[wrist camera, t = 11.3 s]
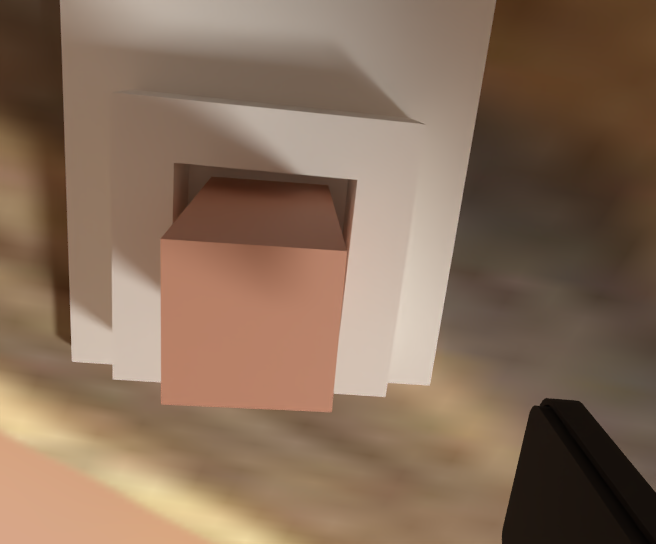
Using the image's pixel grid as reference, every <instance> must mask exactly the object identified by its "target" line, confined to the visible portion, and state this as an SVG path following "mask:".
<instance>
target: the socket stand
mask: <svg viewBox="0 0 656 544" xmlns="http://www.w3.org/2000/svg"><path fill="white" fill-rule="evenodd" d="M495 5H496V0H60V16H61V46H62V76H63V107H64V137H65V167H66V197H67V227H68V257H69V287H70V318H71V348H72V362H85V363H100V364H113V379H117V380H133V381H148V382H161V259H160V239H161V238H162V236H163V235H164V234H165V233H166V232H167V230H168V229H169V228H170V227H171V225H172V224H173V223H174V222H175V221H176V219H177V218H178V217H179V216H180V214H181V213H182V212H183V211H184V210H185V208H186V207H187V206H188V205H189V204H190V202H191V201H192V200H193V199H194V197H195V196H196V195H197V194H198V193H199V191H200V190H201V189H202V188H203V186H204V185H205V184H206V183H207V182H208V180H209V179H210V178H211V177H225V178H238V179H252V180H266V181H279V182H293V183H307V184H320V185H328V187H329V190H330V194H331V197H332V200H333V204H334V207H335V211H336V214H337V218H338V221H339V225H340V228H341V232H342V235H343V238H344V242H345V245H346V249H347V258H346V269H345V279H344V289H343V300H342V310H341V321H340V331H339V342H338V352H337V362H336V373H335V383H334V394H349V395H364V396H380V397H386V390H387V383H400V384H415V385H430V381H431V375H432V370H433V364H434V358H435V352H436V346H437V341H438V335H439V329H440V323H441V318H442V312H443V306H444V300H445V294H446V289H447V283H448V277H449V271H450V265H451V260H452V254H453V248H454V242H455V236H456V231H457V225H458V219H459V213H460V207H461V202H462V196H463V190H464V184H465V179H466V173H467V167H468V161H469V155H470V150H471V144H472V138H473V132H474V126H475V121H476V115H477V109H478V103H479V97H480V92H481V86H482V80H483V74H484V69H485V63H486V57H487V51H488V45H489V40H490V34H491V28H492V22H493V16H494V11H495Z"/></svg>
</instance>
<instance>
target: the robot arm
mask: <svg viewBox="0 0 656 544" xmlns="http://www.w3.org/2000/svg"><path fill="white" fill-rule="evenodd" d="M502 544H656V492H655V491H654V490H653V489H652V488H651V486H650V485H649V484H648V483H647V482H646V480H645V479H644V478H643V477H642V475H641V474H640V473H639V472H638V471H637V469H636V468H635V467H634V466H633V465H632V463H631V462H630V461H629V460H628V459H627V457H626V456H625V455H624V454H623V452H622V451H621V450H620V449H619V448H618V446H617V445H616V444H615V443H614V442H613V440H612V439H611V438H610V437H609V435H608V434H607V433H606V432H605V431H604V429H603V428H602V427H601V426H600V425H599V423H598V422H597V421H596V420H595V419H594V417H593V416H592V415H591V414H590V412H589V411H588V410H587V409H586V408H585V406H584V405H583V404H582V403H581V402H579V401H574V400H562V399H549V398H546V399H544V400H543V401H542V403H541V404H540V406H533V407H532V409H531V411H530V414H529V418H528V422H527V426H526V431H525V435H524V439H523V444H522V448H521V452H520V457H519V461H518V465H517V469H516V474H515V478H514V482H513V487H512V491H511V495H510V500H509V504H508V508H507V513H506V517H505V521H504V526H503V531H502Z"/></svg>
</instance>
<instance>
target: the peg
mask: <svg viewBox="0 0 656 544" xmlns="http://www.w3.org/2000/svg"><path fill="white" fill-rule="evenodd" d="M346 258H347V249H346V245H345V242H344V238H343V235H342V232H341V228H340V225H339V221H338V218H337V214H336V211H335V207H334V204H333V200H332V197H331V194H330V190H329V187H328V185H320V184H307V183H293V182H279V181H266V180H252V179H238V178H225V177H211V178H210V179H209V180H208V182H207V183H206V184H205V185H204V186H203V188H202V189H201V190H200V191H199V193H198V194H197V195H196V196H195V197H194V199H193V200H192V201H191V202H190V204H189V205H188V206H187V207H186V208H185V210H184V211H183V212H182V213H181V214H180V216H179V217H178V218H177V219H176V221H175V222H174V223H173V224H172V225H171V227H170V228H169V229H168V230H167V232H166V233H165V234H164V235H163V236H162V238H161V239H160V259H161V404H164V405H186V406H208V407H230V408H252V409H274V410H296V411H319V412H332V404H333V394H334V383H335V373H336V362H337V352H338V342H339V331H340V321H341V310H342V300H343V289H344V279H345V269H346Z"/></svg>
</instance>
